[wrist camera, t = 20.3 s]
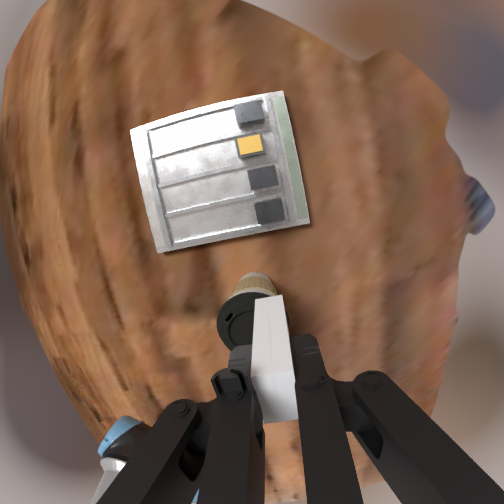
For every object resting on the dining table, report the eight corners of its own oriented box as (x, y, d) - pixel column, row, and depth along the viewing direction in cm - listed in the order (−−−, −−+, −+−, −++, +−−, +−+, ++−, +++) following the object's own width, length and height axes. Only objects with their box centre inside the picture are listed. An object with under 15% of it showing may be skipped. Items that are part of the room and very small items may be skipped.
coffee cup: (261, 322, 52) (260, 372, 37) (217, 293, 50) (200, 337, 36) (294, 282, 49) (306, 324, 35) (248, 250, 48) (243, 282, 34)
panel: (161, 250, 49) (149, 260, 43) (135, 131, 43) (119, 127, 37) (308, 221, 46) (314, 227, 41) (281, 94, 41) (284, 83, 35)
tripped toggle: (240, 159, 42) (238, 157, 38) (236, 141, 41) (233, 137, 37) (265, 154, 42) (266, 152, 38) (261, 135, 41) (261, 131, 37)
